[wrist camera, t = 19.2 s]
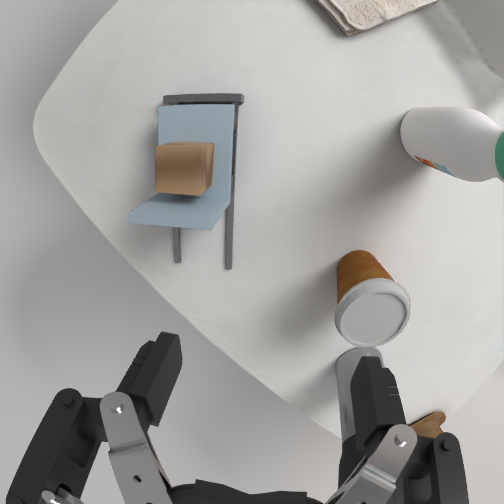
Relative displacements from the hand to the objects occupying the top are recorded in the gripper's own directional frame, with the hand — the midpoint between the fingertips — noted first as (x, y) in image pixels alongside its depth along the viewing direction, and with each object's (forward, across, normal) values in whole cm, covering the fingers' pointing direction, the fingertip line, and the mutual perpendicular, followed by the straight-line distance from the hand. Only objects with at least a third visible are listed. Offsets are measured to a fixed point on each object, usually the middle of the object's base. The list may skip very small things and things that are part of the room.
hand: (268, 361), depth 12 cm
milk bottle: (+28, -18, -11) cm, 35 cm away
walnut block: (+24, +11, -4) cm, 26 cm away
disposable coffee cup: (+28, -12, +10) cm, 32 cm away
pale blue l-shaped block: (+28, +11, -5) cm, 31 cm away
